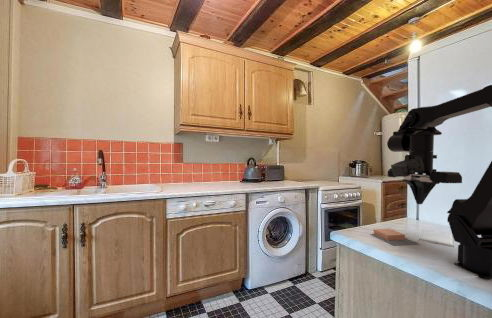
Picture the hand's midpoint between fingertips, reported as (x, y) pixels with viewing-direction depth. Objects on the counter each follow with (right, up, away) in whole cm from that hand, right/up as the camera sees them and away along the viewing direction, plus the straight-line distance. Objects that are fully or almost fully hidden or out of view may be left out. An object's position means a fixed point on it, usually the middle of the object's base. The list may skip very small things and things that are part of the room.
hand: (419, 204), depth 68 cm
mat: (-6, -12, +3) cm, 14 cm away
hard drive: (+9, -13, +5) cm, 16 cm away
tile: (-5, -11, +2) cm, 12 cm away
